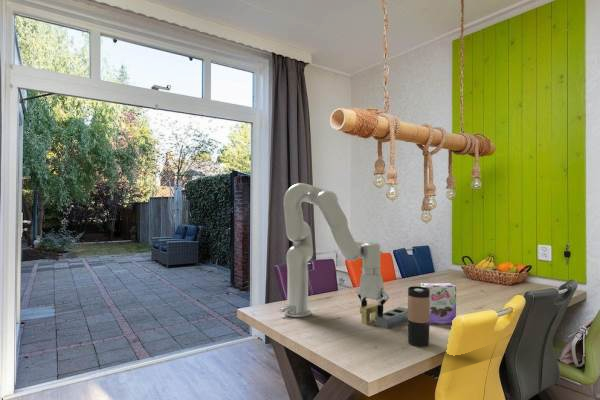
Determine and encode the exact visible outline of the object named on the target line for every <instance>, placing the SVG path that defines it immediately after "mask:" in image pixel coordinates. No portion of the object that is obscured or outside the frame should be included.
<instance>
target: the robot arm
mask: <svg viewBox="0 0 600 400" xmlns="http://www.w3.org/2000/svg"><path fill="white" fill-rule="evenodd" d="M305 202H306V203H309V204H312V205H315V206H318V209H319V210H320V211H321V213H322V215H323V218H324V219H325V221H326V222H327V224H328V226H329V228H330V231H331V233H332V236H333V239H334V241H335V243H336V245H337V248H339V250H340V253H341V254H342V256H343V257H344V258H345V259H346V260H347V261H349V262H355V261H357V260H358V259H361V258H362V266H361V268H360V270H361V271H362V273H361V274H360V280H359V287H358V289H356V290H355V293H356V295H357V296H358V298H359V301H360V302H361V306H360V307H363V306H366V305H368V301H367V299H371V300H375V301H376V303H378V304H379V305H378V306H377V311H378V315H380V314H383V313H384V305H385V303H386V302H387V301H388V300H389V299H390V295H389V294H388V293H387V292H386V291H385V290H384V289H385V287H384V280H383V276H382V274H381V246H380V244H379V243H378V242H360V241H355V239H354V237H353V235H352V233H351V231H350V229H349V223H348V219H347V217H346V214H345V212H344V211H343V210H342V207H341V205H340V204H339V199H338V196H337V194H336V193H335V192H333V191H332V190H328V189H324V188H322V187H317V186H315V185H312V184H307V183H304V182H297V183H295V184H293V185H291V186H290V187H288V189H287V190H286V192H285V194H284V196H283V209H284V224H285V232H286V237H287V239H288V240H289V241H291V242H292V243H293V245H292V246H290V248H289V249H288V250H287V253H286V255H285V257H286V258H285V259H286V260H285V261H286V268H287V269H286V270H287V290H286V291H287V295H286V297H287V299H286V300H287V301H286V302H287V303H285V306H284V307H280V308H279V313H283V315H285V316H288V317H292V318H305V317H309V316H310V315H311V314H312V310H311V309H309V268H308V262H310V260H312V258H313V256H314V246H313V237H312V231H311V226H310V225H309V224H308V222H306V221H305V220H304V213H303V208H302V207H303V206H302V203H305Z"/></svg>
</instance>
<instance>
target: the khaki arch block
mask: <svg viewBox="0 0 600 400" xmlns="http://www.w3.org/2000/svg"><path fill="white" fill-rule="evenodd" d="M378 305H379V304H378V302H373V303H369V304H367V305H366V306H363V307H361V306H360V307H359V314H360V317H361V319H360V320H361V322H360V323H362V324H366V325H367V324H371V320H373V321H375V316H376V315H378V311H377V306H378Z"/></svg>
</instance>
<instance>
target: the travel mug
mask: <svg viewBox="0 0 600 400" xmlns="http://www.w3.org/2000/svg"><path fill="white" fill-rule="evenodd" d="M407 309H408V321H407V340H408V341H407V342H408V344H409V345H410V346H412V347H417V348H426V346H427V347H429V344H430V325H431V324H430V290H429V289H428V288H425V287H420V286H417V285H416V286H415V285H413V286H408V287H407Z"/></svg>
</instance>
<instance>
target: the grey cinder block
mask: <svg viewBox="0 0 600 400" xmlns="http://www.w3.org/2000/svg"><path fill="white" fill-rule="evenodd" d="M405 322H408V307H407V308H405V307H403V306H399V307H396V308H393V309H390V310H387V311H385V312H383V314H380V315H376V316H375V320H374V326H376V327H379V328H382V329H386V330H389V329H391V328H394V327H396V326H399V325H400V324H403V323H405Z"/></svg>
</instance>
